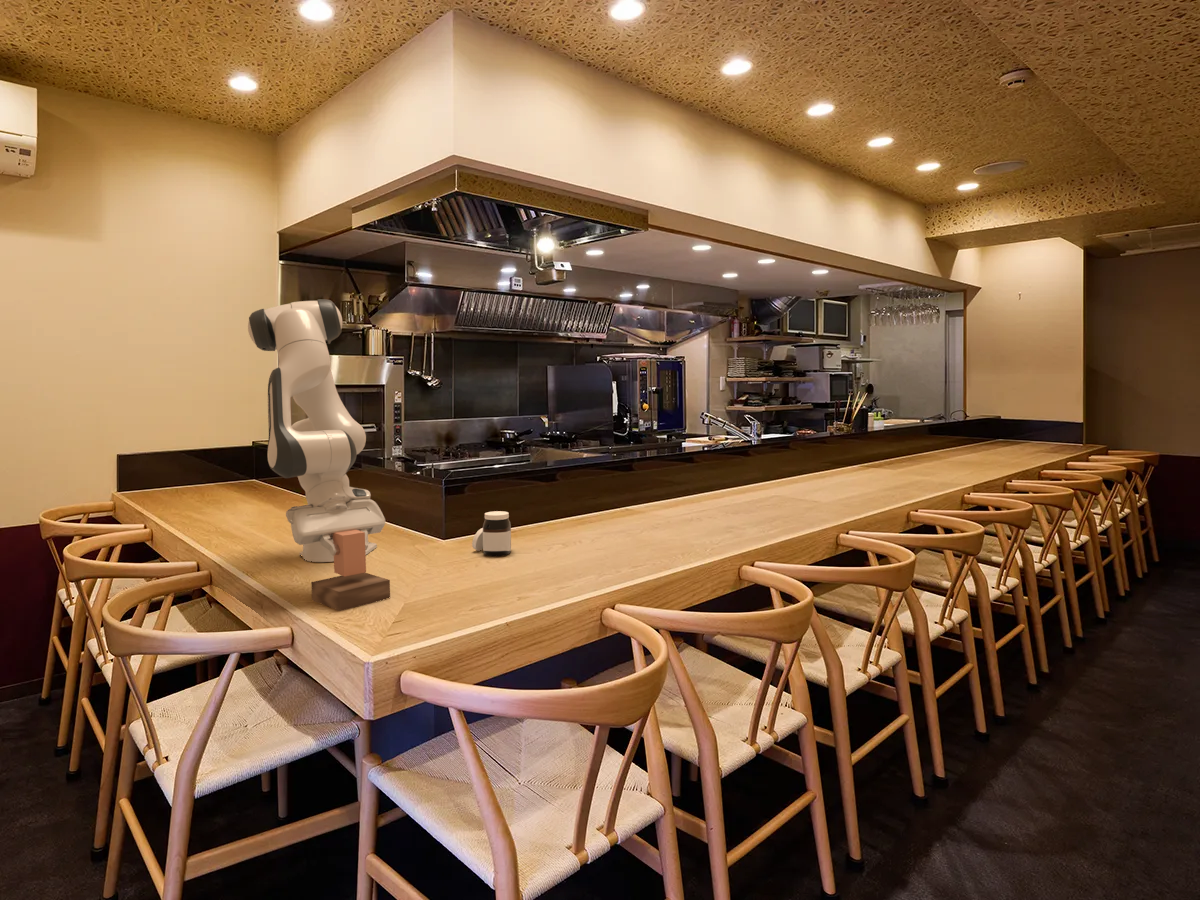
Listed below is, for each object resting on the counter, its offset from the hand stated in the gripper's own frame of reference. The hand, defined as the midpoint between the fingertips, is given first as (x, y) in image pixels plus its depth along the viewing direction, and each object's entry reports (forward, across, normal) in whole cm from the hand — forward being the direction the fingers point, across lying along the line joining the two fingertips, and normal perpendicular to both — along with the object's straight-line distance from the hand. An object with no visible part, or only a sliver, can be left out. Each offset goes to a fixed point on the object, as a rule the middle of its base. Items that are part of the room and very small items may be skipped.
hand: (350, 551), depth 152 cm
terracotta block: (+3, 0, +4) cm, 5 cm away
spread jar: (-3, +48, +18) cm, 52 cm away
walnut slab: (+8, 0, +8) cm, 11 cm away
